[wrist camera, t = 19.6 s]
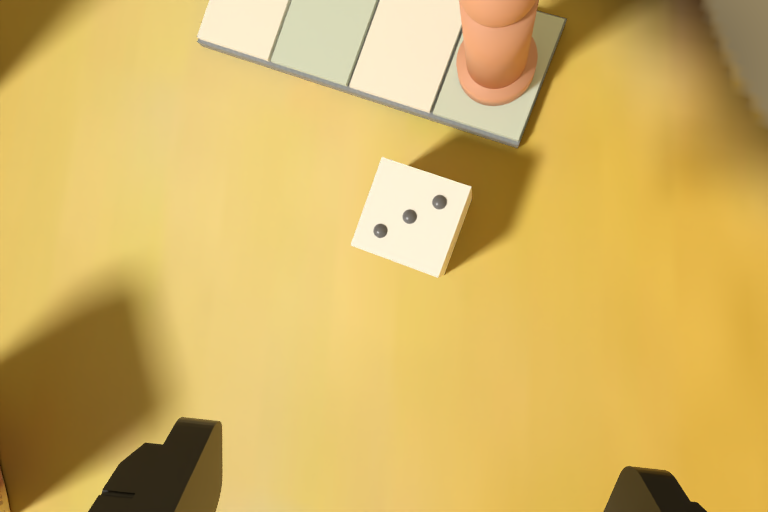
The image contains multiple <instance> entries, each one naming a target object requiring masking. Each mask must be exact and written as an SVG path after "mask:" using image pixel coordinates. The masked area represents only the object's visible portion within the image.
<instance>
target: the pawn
mask: <svg viewBox="0 0 768 512" xmlns="http://www.w3.org/2000/svg"><path fill="white" fill-rule="evenodd" d="M538 2H539V0H459V5H460V14H461V23H462V31H463V41H462V43H461V45H460V47H459V50H458V53H457V59H456V66H457V73H458V78H459V82H460V85H461V87H462V89H463V91H464V92H465V93H466V94H467V95H468V96H469V97H470V98H471V99H472V100H474V101H475V102H477V103H480V104H482V105H487V106H500V105H505V104H508V103H510V102H512V101H514V100H516V99H517V98H519V97H520V96H521V95H522V94H523V93H524V92H525V91H526V90H527V89H528V87H529V86H530V84H531V82H532V80H533V77H534V73H535V69H536V65H537V59H538V53H537V47H536V43H535V41H534V39H533V37H532V33H533V27H534V22H535V17H536V12H537V7H538Z"/></svg>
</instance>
